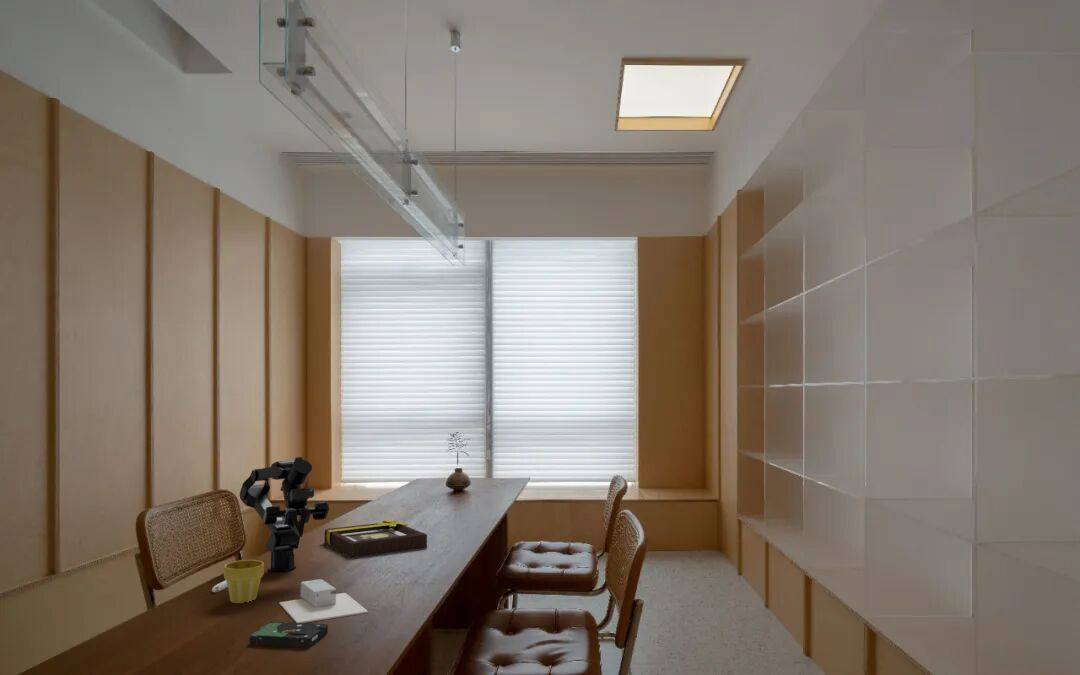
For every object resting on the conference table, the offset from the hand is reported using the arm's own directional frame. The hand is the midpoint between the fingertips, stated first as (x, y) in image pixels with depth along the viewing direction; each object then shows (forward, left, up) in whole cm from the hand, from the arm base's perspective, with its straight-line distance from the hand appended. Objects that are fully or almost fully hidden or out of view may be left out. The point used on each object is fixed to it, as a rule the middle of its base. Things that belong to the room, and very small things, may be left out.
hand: (300, 536), depth 232 cm
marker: (-18, -10, -14) cm, 25 cm away
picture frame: (-6, +52, -14) cm, 54 cm away
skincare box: (+13, -12, -11) cm, 21 cm away
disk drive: (+29, -43, -14) cm, 54 cm away
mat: (+22, -20, -13) cm, 33 cm away
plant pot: (-3, -21, -14) cm, 25 cm away
